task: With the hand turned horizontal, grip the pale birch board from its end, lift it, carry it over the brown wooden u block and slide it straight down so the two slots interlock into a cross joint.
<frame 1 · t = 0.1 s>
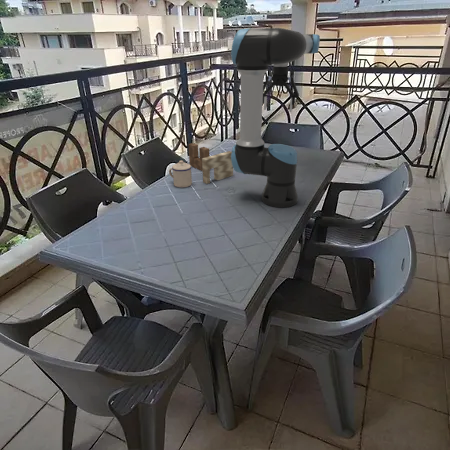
hand: (277, 110, 181), 28 cm above the table, tool pointing down, fingers open, 13 cm apart
brown wooden u block: (199, 168, 186), on the table
teacup with lid: (180, 184, 167), on the table
birch board: (218, 178, 172), on the table
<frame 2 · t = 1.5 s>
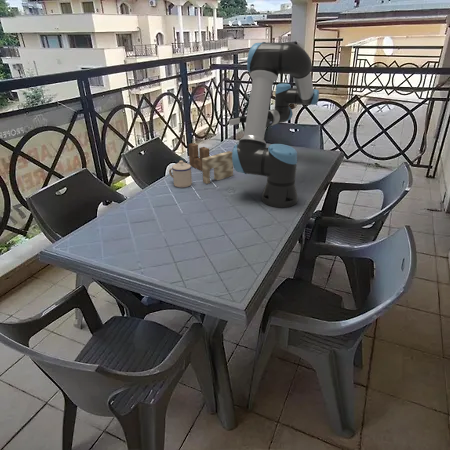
hand: (239, 125, 168), 24 cm above the table, tool horizontal, fingers open, 13 cm apart
nothing on the table moved.
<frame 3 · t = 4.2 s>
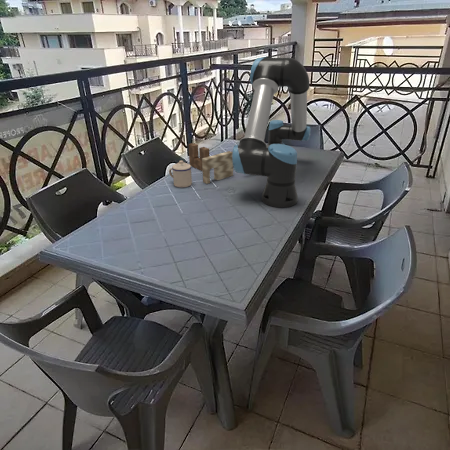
hand: (233, 161, 175), 6 cm above the table, tool horizontal, fingers open, 13 cm apart
nothing on the table moved.
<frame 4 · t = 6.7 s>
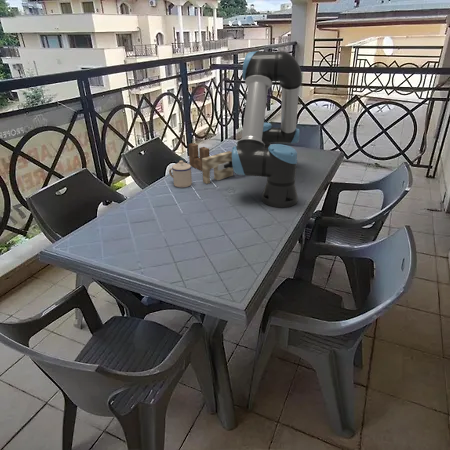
hand: (215, 166, 168), 7 cm above the table, tool horizontal, fingers closed on birch board, 3 cm apart
birch board: (218, 178, 172), on the table, touching gripper
everything else where it was.
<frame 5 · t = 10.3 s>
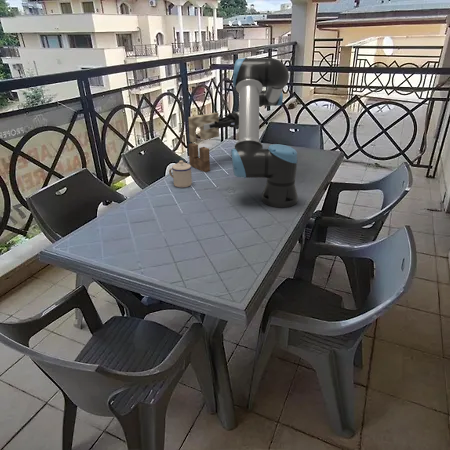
hand: (201, 126, 177), 22 cm above the table, tool horizontal, fingers closed on birch board, 3 cm apart
birch board: (204, 138, 181), point 15 cm above the table, touching gripper
everything else where it was.
when the fingers open (8 cm above the table, at t = 13.7 s): birch board drops 1 cm, on the table.
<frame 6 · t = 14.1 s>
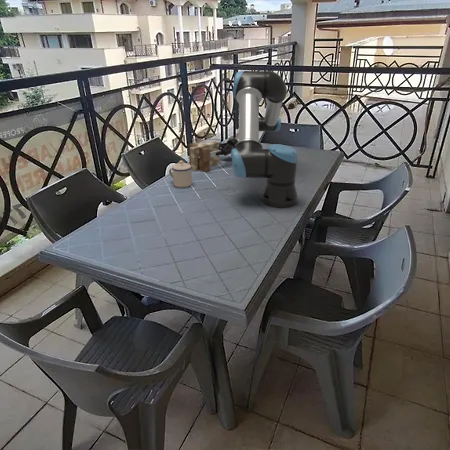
hand: (204, 152, 184), 8 cm above the table, tool horizontal, fingers open, 9 cm apart
birch board: (205, 166, 188), on the table
everything else where it was.
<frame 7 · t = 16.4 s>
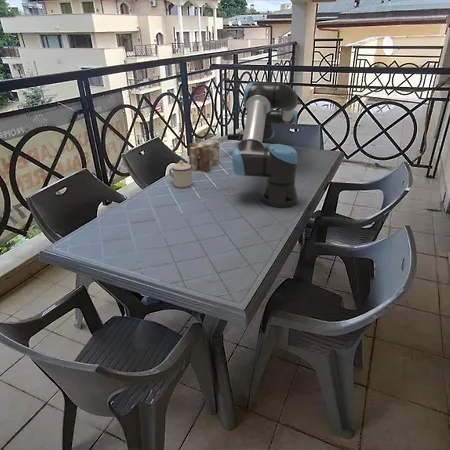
hand: (226, 142, 191), 11 cm above the table, tool horizontal, fingers open, 13 cm apart
nothing on the table moved.
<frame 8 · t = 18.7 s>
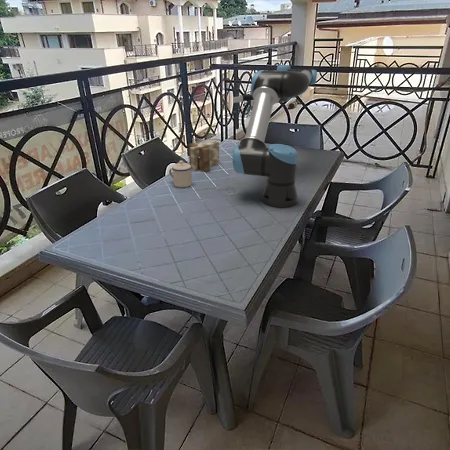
hand: (242, 101, 181), 32 cm above the table, tool horizontal, fingers open, 13 cm apart
nothing on the table moved.
at the end: birch board 0.1 cm from the target spot on the table beside the brown wooden u block, on the table; birch board tilted 0°; the gripper is holding nothing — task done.
